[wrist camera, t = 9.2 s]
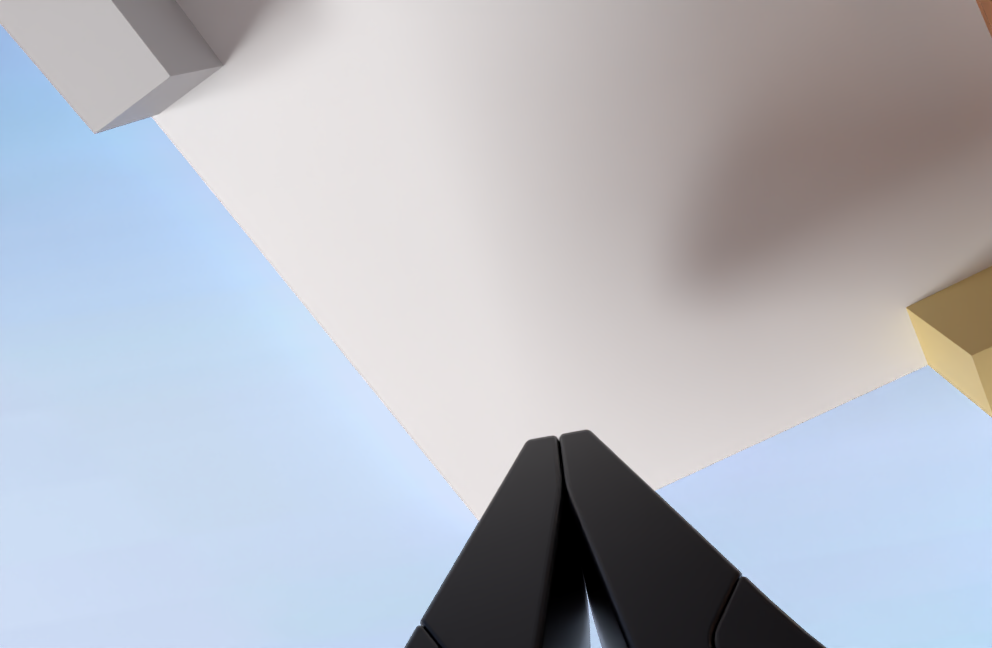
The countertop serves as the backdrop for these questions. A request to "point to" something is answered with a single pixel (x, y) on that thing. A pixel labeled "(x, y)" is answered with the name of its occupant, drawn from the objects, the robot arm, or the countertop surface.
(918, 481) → the countertop surface
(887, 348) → the coupling board
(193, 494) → the countertop surface
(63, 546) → the countertop surface
